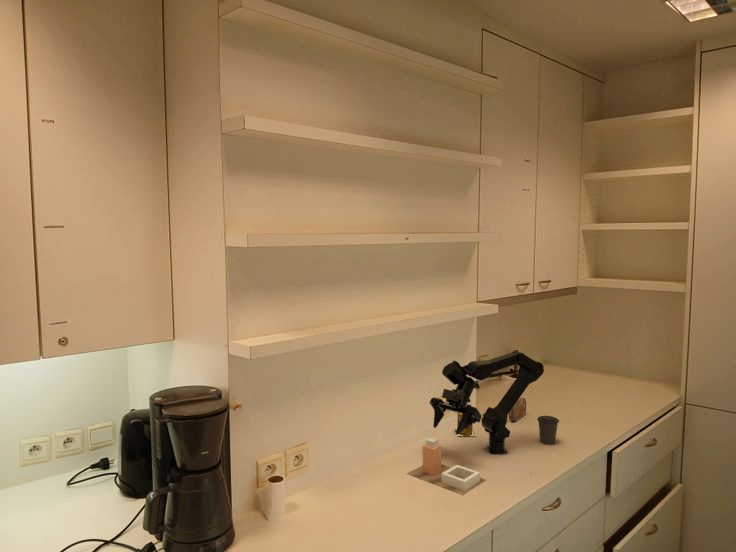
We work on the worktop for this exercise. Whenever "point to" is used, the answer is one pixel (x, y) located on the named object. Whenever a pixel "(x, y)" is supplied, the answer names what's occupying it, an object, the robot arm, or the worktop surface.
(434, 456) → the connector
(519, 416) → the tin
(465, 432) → the condiment
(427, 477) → the board
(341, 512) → the worktop surface
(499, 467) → the worktop surface
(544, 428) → the coffee cup
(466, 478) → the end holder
